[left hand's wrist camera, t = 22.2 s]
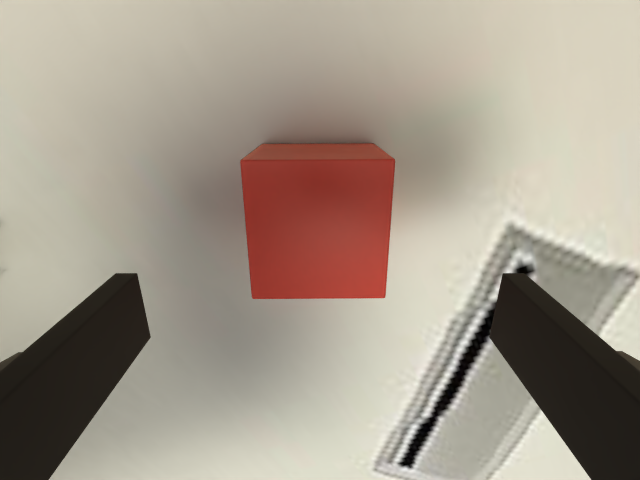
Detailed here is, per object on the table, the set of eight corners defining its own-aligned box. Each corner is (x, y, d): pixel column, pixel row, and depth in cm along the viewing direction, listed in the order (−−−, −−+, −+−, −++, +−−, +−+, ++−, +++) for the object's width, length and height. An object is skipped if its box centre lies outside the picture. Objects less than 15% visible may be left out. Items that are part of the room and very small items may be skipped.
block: (369, 250, 27) (385, 298, 20) (267, 251, 27) (251, 299, 20) (374, 143, 24) (395, 159, 17) (261, 143, 24) (239, 159, 17)
